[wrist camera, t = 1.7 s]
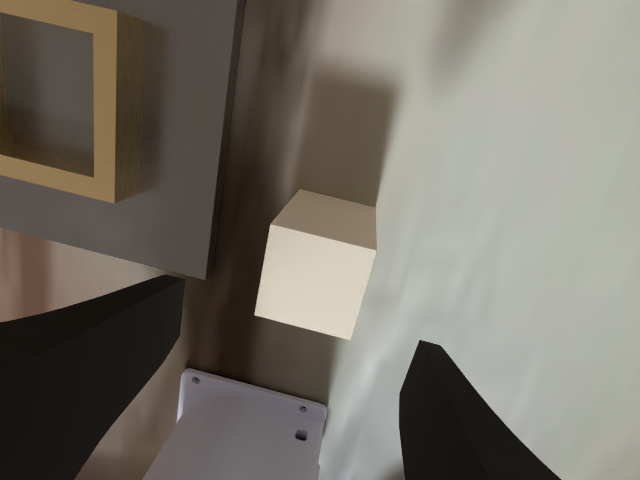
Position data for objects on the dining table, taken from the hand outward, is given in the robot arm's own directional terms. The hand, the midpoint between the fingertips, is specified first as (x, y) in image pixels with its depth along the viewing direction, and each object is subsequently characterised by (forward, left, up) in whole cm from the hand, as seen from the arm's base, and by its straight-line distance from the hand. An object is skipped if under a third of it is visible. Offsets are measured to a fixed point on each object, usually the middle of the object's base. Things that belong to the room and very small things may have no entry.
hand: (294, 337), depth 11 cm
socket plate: (+14, -4, -9) cm, 17 cm away
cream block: (0, 0, -10) cm, 10 cm away
